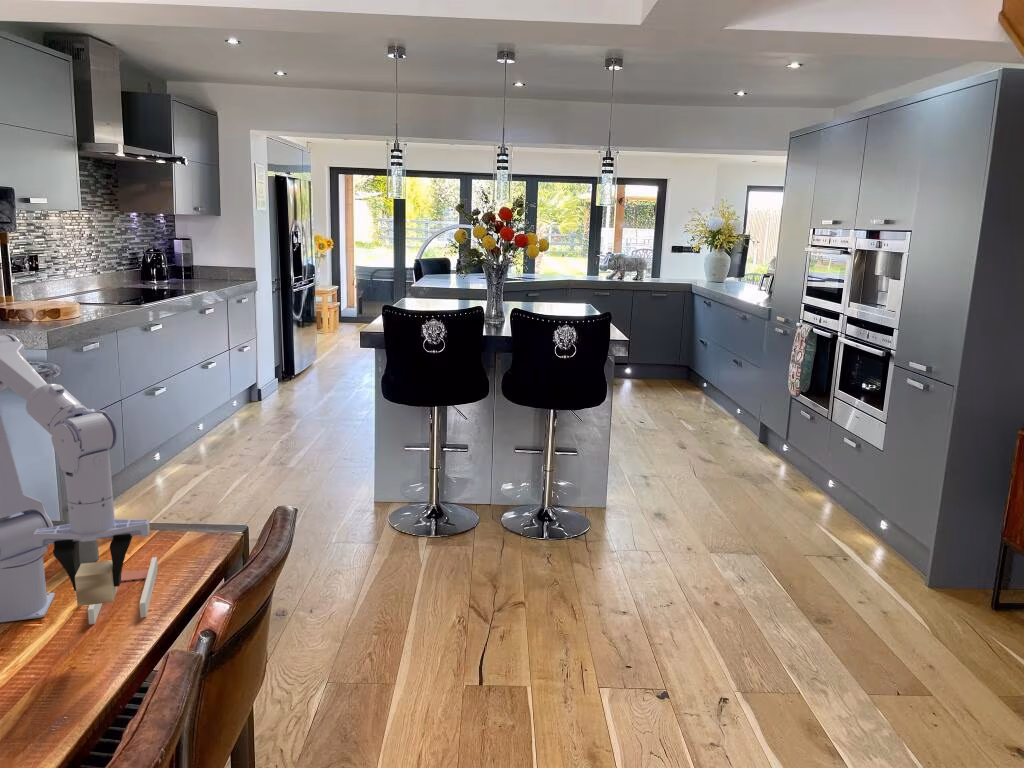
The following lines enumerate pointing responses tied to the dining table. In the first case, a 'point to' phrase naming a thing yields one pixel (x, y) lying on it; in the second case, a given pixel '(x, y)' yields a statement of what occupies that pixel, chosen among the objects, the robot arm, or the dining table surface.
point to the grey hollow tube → (87, 549)
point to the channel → (145, 597)
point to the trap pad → (134, 575)
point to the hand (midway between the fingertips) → (98, 585)
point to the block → (95, 583)
